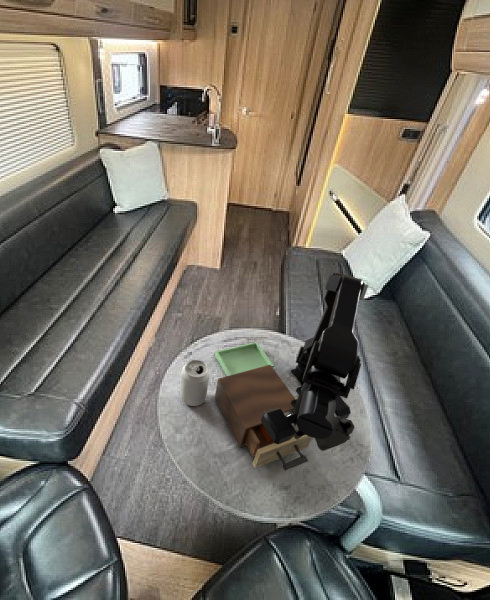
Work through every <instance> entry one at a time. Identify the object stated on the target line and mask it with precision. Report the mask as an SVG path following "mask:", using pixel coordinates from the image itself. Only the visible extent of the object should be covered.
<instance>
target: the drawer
mask: <svg viewBox="0 0 490 600" xmlns="http://www.w3.org/2000/svg"><path fill="white" fill-rule="evenodd" d="M259 427H260V425H259V426H256V427H254V428H251V429H248V430H247V433H246V437H245V440H244V441H245V443H246V445H245V446H246V447H247V449H248V451H249V453H250V454H251V457H254V459H253V460H252V465H253V468H254V469H257V468H260V467H262V466H264V465H267V464H270V463H272V462H274V461H277V460H279V461H280V463H281V464H282V465H281V466H282V469H283V470H284V471H289V470H291V469H292V468H295V467H297V466H300V465H303V464H305V463H307V462H308V461H309V459H308V456H307V455H305V454H303V452H302V450H304V449H306V448H308V447H309V445H310V444H311V442H312V440H313V438H312V437H309V436H307V435H303V436H302V437H300V438H299V439H297V440H296V439H295V438H294V436H293V438H291V439H290V440H289V441H286V442H284V443H281V444H275V443H274V442H273V441H272V440H271V441H268V442H267V441H266V439H265V437H264V435H263V434H262V432H261V430H260V428H259ZM294 453H297V454H298V455H299V456H298V457H295V458H293V459H292V460H288V461H285V459H284V457H287V456H289V455H291V454H294Z"/></svg>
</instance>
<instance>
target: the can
mask: <svg viewBox="0 0 490 600" xmlns="http://www.w3.org/2000/svg"><path fill="white" fill-rule="evenodd" d="M210 377H211V371H210V367H209V366H208V364H207V363H206V362H205V361H203V360H201V359H196V358H195V359H190V360H188V361H187V362H186V363H185V364H184V365H183V366H182V368H181V376H180V387H179V397H180V400H181V401H182V402H183V403H184V404H185V405H188V406H191V407H197V406H200V405H202V404H203V403H204V402H205V401H206V399H207V395H208V390H209V382H210Z"/></svg>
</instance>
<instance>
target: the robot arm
mask: <svg viewBox="0 0 490 600" xmlns="http://www.w3.org/2000/svg"><path fill="white" fill-rule="evenodd" d="M368 288H369V284H367V283H365V281H363V279H362V278H358V277H354V276H351V275H347V274H344V273H341V272H337V271H336V272H332V273H331V274H329V275H328V277H327V279H326V282H325V285H324V290H325V293H324V299H323V300H324V303H325V305H326V306H325V309H324V312H323V314H322V316H321V319H320V320H319V323H318V326H317V328H316V331H315V332H314V335H313V337H310V338H308V339H306V340H305V342H304V344H303V345H301V346H300V347H299V349H298V353H297V355H296V359H295V363H296V364H297V365H296V367H295V368H292V369H291V370H290V372H291V374H292V375H293V377H294V378H295V379H296V381H298V383H299V384H300V385H301V386H298V387H296V389H295V392H296V394H297V395H298V396H297V398H295V400H292V401H291V405H292V406H293V408H292V409H290V410H287V411H284V412H283V411H282V410H281V409H280V408H275V409H272V410H268V411H265V412H263V415H262V418H261V422H262V424H263V425H264V427H265V429H266V430H267V432H268V434H269V436H270V437H271V439H272V441H273V442H274V443H275V444H281V443H284V442H286V441H289V440H290V439H291V438H293V436H294V438H295V439H296V440H297V439H299V438H300V437H302V436H303V435H307V436H309V437H312V439H314V440H315V443H316V446H317V448H318V449H319V450H320V451H323V452H324V451H327V450H329V449H330V450H331V449H333V448H335V447H338V446H340V445H342V444H346V443H347V442H348V441H351V434H353V432H354V430H355V425H354V423H353V421H352V420H351V419H349V416H350V415H351V413H352V412H351V407H350V406H349V404H348V403H347V402H346V401H345V399H348V397H349V395H350V391H351V390H355V387H356V384H357V381H358V377H359V374H360V371H361V367H362V362H361V361H362V360H361V356H360V355H358V354H359V346H360V343H359V340H358V338H357V337H356V335H355V334H354V328H355V322H356V317H357V311H358V307H359V302H360V301H364V299H365V297H366V293H367V291H368ZM341 379H343V380H344V379H346V382H345V383H344V382H341ZM344 398H345V399H344Z"/></svg>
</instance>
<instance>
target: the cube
mask: <svg viewBox="0 0 490 600" xmlns="http://www.w3.org/2000/svg"><path fill="white" fill-rule="evenodd" d="M259 428H260V430H261V432H262V434H263V435H264V437H265V439H266V441H267V442H268V441H271V440H272V439H271V437H270V436H269V434H268V432H267V430H266V429H265V427H264V425H263V424H262V425H260V427H259Z"/></svg>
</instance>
